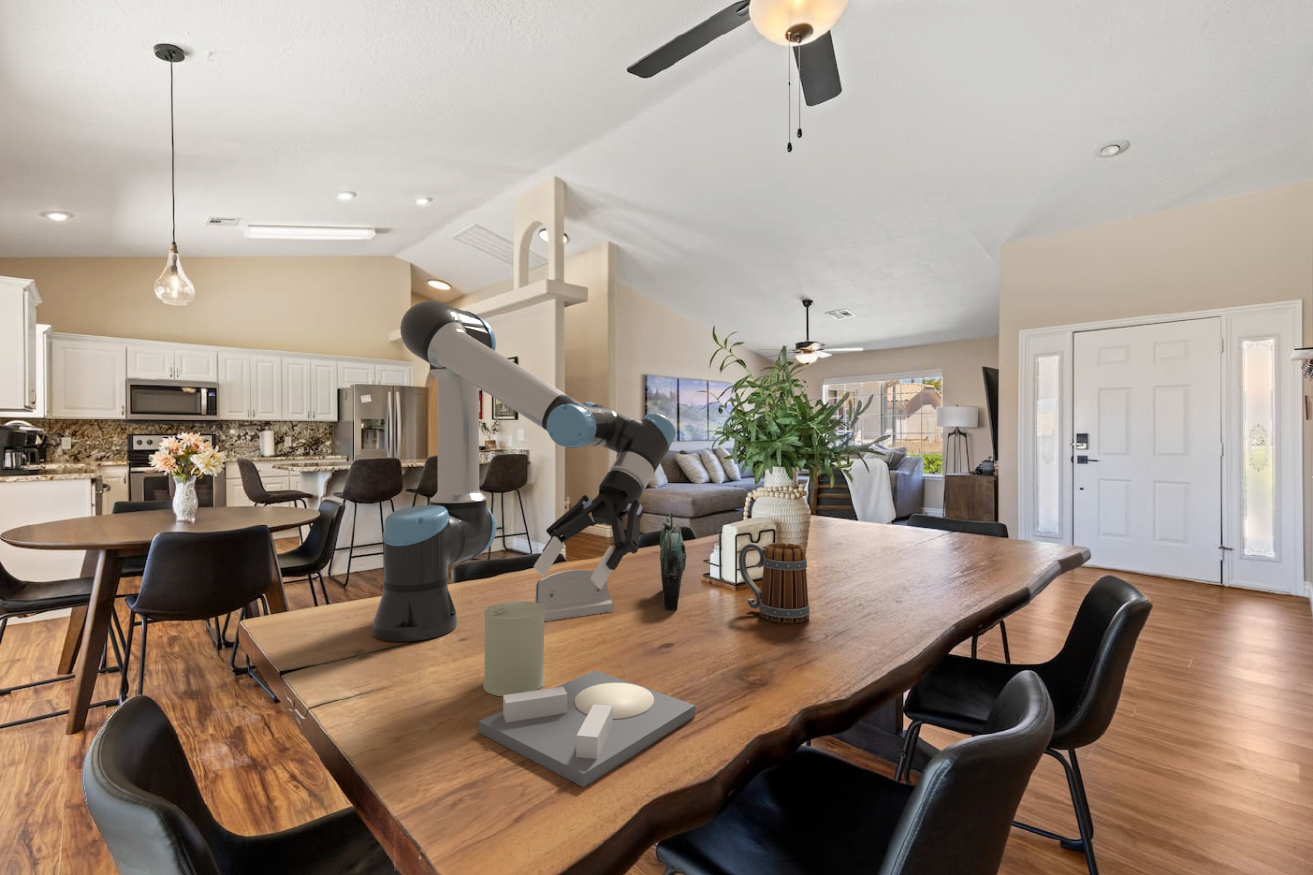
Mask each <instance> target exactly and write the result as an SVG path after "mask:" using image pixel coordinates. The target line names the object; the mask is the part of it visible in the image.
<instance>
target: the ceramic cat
mask: <svg viewBox="0 0 1313 875" xmlns="http://www.w3.org/2000/svg"><path fill="white" fill-rule="evenodd" d="M668 516H669V518H668ZM668 516H666V522H662V525H661V530H660V537H659V538H660V539H659V548H660V550H659V552H660V554H659V561H660V576H661V584H662V599H663V600H662V601H663V608H664V610H665V609H667V611H671V610H673V611H677V610H678V605H679V599H680V593H681V586H682V585H681V584H682V579H683V574H684V571H685V568H686V566H687V564H686V563H687V553H686V545H685V543H684V539H683V535H682V529H681V523H679V522H673V512H671V511H669V514H668ZM669 519H670V520H669Z"/></svg>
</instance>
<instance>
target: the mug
mask: <svg viewBox="0 0 1313 875" xmlns="http://www.w3.org/2000/svg"><path fill="white" fill-rule="evenodd" d="M750 549H753V550H755V551H757V552H758V555H759V561H758V562H757V563H756V566H757V568H758V569H759V568H762V567H763V570H762V580H761V590H760V588H759V587H758V586H757V584H756V583H755V582H754V581H753V580H752V578H751V576H750V574H749V572H748V568H747V562H746V560H747V558H746V557H747V554H748V552H749V550H750ZM807 559H808V558H807V557H806V548H805V547H804V546H802V545H801V544H795V543H787V544H786V542H778V543H777V542H774V543H773V542H772V543H767V544H766V546H765V548H764V547H763V546H762V545H761V544H759V543H756V542H751V543H747V544H746V545H744V546H743V547H742V548H741V550H740V552H739V555H738V567H739V572H740V575H741V578H742V579H743V581H744V583H745V584H746V586H747V587H748V588H749V589H750V591H751V592H752V593H753V594H754V596H755V598H752V597H751V598H749V599H747V604H748V606H749V607H750V608H751V609H759V614H760V616H761V617H762V618H763V619H765V620H766V621H769V622H772V621H773V622H772V623H776V622H777V623H778V624H784V623H785V624H786V625H788V624H789V625H791V624H792V625H793V624H801V623H804V622H806V621H807V620H809V617H810V613H811V611H810V610H811V609H810V603H809V594H808V592H809V591H808V578H807V577H808V576H807V575H808V574H807V568H808V562H807V561H808V560H807ZM755 599H756V600H755ZM777 623H776V624H777Z"/></svg>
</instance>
